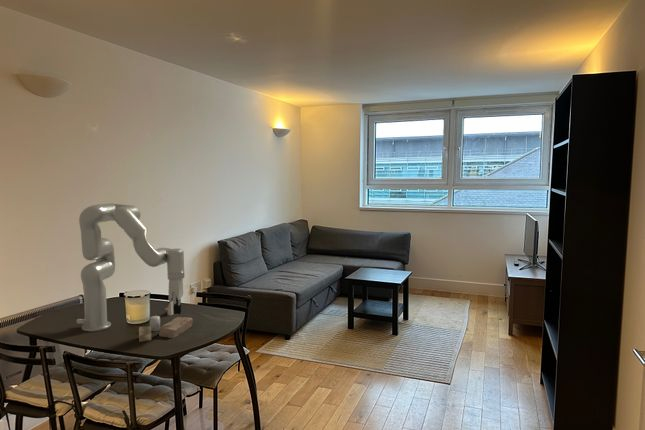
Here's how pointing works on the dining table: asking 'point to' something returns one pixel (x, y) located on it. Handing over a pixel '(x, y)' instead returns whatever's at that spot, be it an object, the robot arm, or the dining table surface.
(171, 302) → the architectural model
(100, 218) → the robot arm
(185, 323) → the brick
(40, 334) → the dining table surface
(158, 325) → the grey cylinder
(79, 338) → the dining table surface
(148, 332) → the beech cube
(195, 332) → the dining table surface
